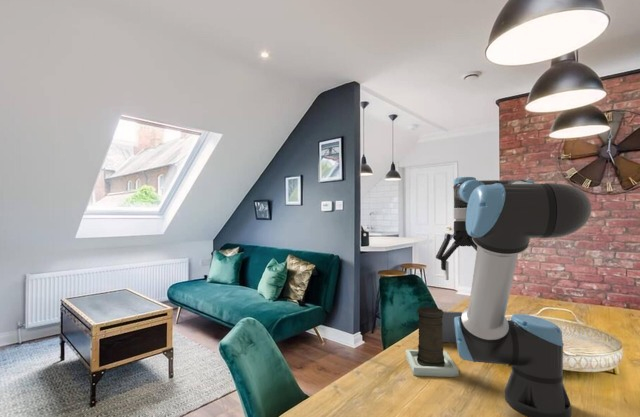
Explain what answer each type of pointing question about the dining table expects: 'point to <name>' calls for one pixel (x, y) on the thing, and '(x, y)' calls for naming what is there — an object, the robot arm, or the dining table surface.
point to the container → (430, 337)
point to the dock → (449, 326)
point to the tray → (419, 370)
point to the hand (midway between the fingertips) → (465, 279)
